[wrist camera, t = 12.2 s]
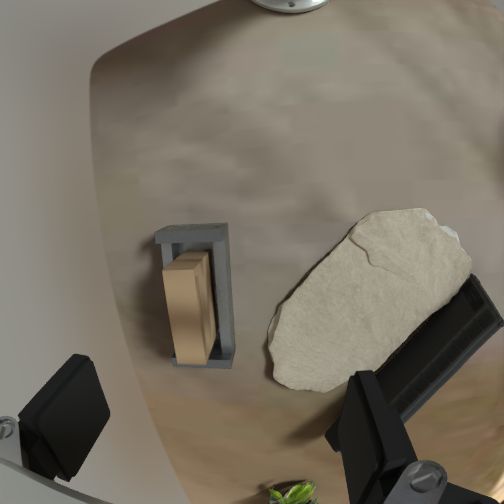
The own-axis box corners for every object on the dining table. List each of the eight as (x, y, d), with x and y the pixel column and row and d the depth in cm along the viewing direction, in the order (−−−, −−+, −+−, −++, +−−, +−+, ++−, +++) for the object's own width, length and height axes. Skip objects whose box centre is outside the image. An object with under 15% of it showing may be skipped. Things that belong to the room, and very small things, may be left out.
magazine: (515, 274, 25) (364, 501, 23) (525, 289, 26) (381, 505, 23) (432, 268, 42) (319, 430, 40) (443, 280, 43) (333, 437, 40)
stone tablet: (472, 265, 35) (481, 270, 32) (314, 404, 41) (316, 414, 38) (408, 170, 33) (416, 169, 31) (232, 333, 39) (229, 342, 37)
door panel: (184, 250, 35) (161, 270, 28) (210, 249, 35) (194, 269, 27) (194, 329, 38) (177, 363, 30) (218, 329, 37) (206, 364, 30)
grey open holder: (168, 225, 36) (154, 232, 31) (227, 222, 35) (221, 229, 31) (183, 346, 39) (173, 366, 35) (235, 348, 39) (231, 368, 34)
